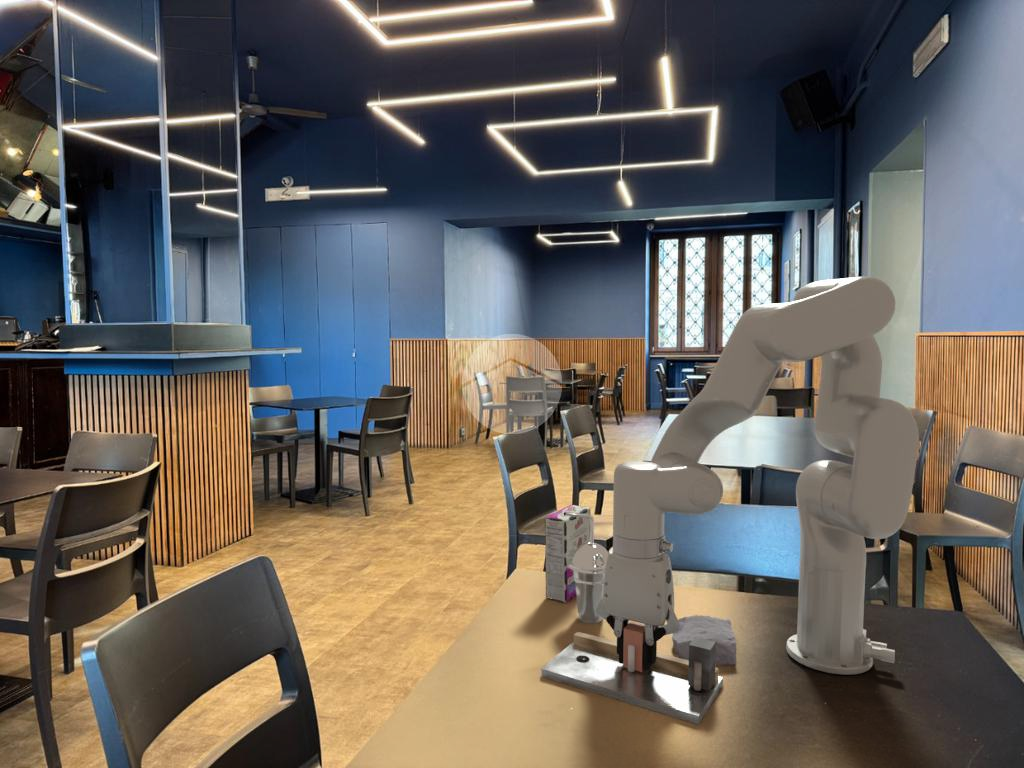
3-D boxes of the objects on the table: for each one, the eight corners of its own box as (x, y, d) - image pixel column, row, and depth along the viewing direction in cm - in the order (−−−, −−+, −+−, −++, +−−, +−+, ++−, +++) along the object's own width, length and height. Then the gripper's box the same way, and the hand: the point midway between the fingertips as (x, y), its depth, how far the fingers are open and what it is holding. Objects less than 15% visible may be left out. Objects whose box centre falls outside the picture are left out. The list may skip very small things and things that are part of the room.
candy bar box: (569, 580, 143) (570, 503, 142) (591, 585, 140) (592, 507, 139) (543, 598, 134) (543, 516, 132) (566, 604, 131) (566, 520, 130)
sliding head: (649, 663, 104) (649, 625, 104) (639, 675, 101) (640, 635, 101) (630, 658, 106) (631, 621, 106) (620, 669, 103) (621, 630, 102)
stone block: (677, 673, 108) (742, 667, 107) (671, 644, 108) (736, 637, 106) (674, 642, 120) (732, 636, 118) (669, 615, 120) (727, 609, 118)
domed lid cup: (612, 630, 120) (614, 517, 118) (561, 625, 122) (562, 514, 120) (615, 610, 128) (617, 505, 126) (567, 606, 130) (568, 502, 128)
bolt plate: (722, 685, 101) (723, 676, 101) (698, 724, 91) (698, 715, 91) (577, 645, 114) (577, 637, 114) (541, 676, 104) (541, 667, 104)
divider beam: (718, 678, 101) (719, 637, 100) (706, 696, 96) (708, 652, 95) (577, 640, 113) (577, 603, 112) (561, 654, 108) (561, 616, 107)
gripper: (699, 547, 101) (697, 667, 103) (598, 530, 110) (597, 640, 111) (683, 562, 95) (681, 689, 96) (577, 542, 104) (576, 659, 105)
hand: (636, 662), depth 104 cm, fingers closed on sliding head, 3 cm apart
